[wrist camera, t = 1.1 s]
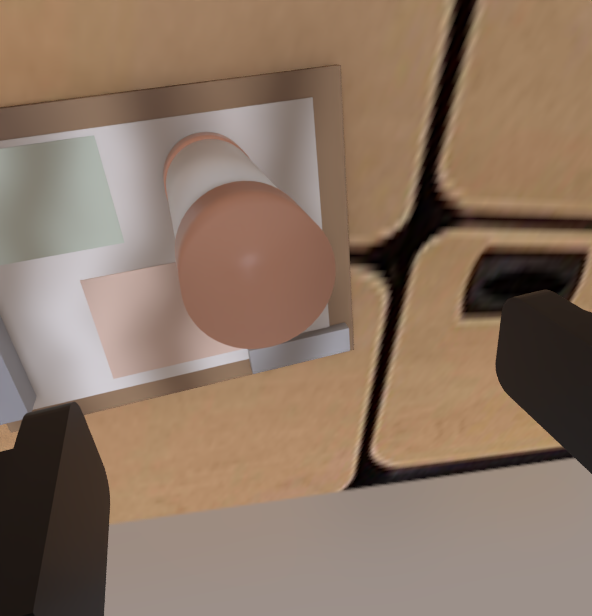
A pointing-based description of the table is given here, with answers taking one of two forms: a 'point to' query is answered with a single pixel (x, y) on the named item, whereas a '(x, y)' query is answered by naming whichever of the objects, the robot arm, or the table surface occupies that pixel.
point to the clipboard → (151, 232)
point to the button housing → (13, 382)
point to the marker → (243, 247)
